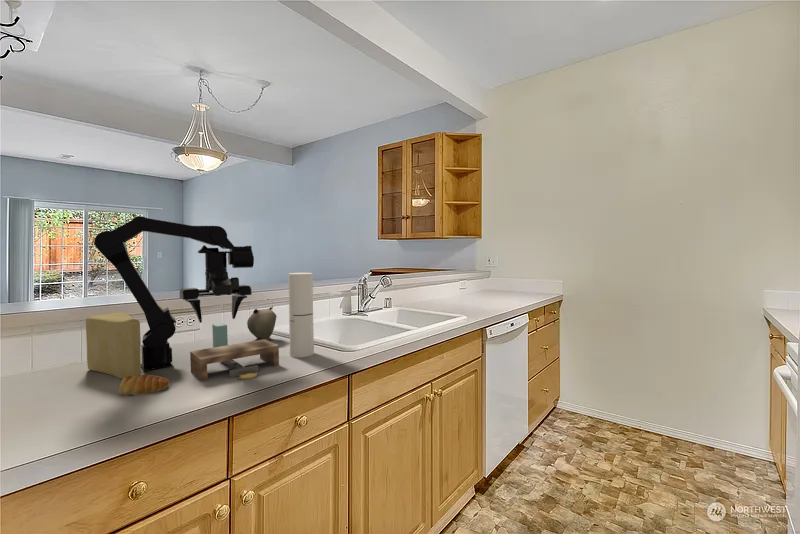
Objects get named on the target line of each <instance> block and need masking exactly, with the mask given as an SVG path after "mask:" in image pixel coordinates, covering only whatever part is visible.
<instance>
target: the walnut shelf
mask: <svg viewBox="0 0 800 534" xmlns="http://www.w3.org/2000/svg"><path fill="white" fill-rule="evenodd" d="M279 349H280V345H278V344H277V343H274V342H271V341H270V340H269V341H267V340H265V339H264V340H258V341H253V340H252V341H251V340H250V341H247V342H240V343H234V344H228V345H226V346H220V347H214V348H213V347H210V348H203V349H197V350H196V349H195V350H190V351H189V354H190V356H189V357H190V358H189V359H190V360H189V361H190V373H191V374H192V375H194V377H195V378H197V380H198V381H200V382H205V381H208V365H209V364H216V363H221V362H222V361H227V360H232V359H233V360H236V359H241V358H248V357H253V356H259V359H260V360H262V361H263V362H266V363H268V364H269V365H271V366H273V367H277V366H280V353H279V352H280V350H279ZM222 363H223V362H222Z"/></svg>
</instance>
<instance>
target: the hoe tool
mask: <svg viewBox="0 0 800 534" xmlns="http://www.w3.org/2000/svg"><path fill="white" fill-rule="evenodd" d="M211 326H212V327H211V329H212V348H214V347H220V346H226V345H229V344H228V324H225V323H224V322H220V323H213V324H212V325H211ZM222 363H223V364H225V365H227V366H228V367H229V368H231V369H229V371H228V373H229V376H228V377H229V378H233V377H234V378H235V377H238V374H239V373H240V372H243V371H248V370H254V371H257V373H258V372H259V365H258V364H255V365H249V366H244V365H242V364H241V363H239V362H237V361H236V360H235V359H232V360H227V361H222Z"/></svg>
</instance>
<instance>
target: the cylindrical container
mask: <svg viewBox="0 0 800 534" xmlns="http://www.w3.org/2000/svg"><path fill="white" fill-rule="evenodd" d="M313 275H314V274H313V272H289V273H288V314H289V315H288V316H289V317H288V318H289V319H288V320H289V321H288V324H289V328H288V329H289V330H288V331H289V356H290V357H292V358H308V357H310V356H313V355H314V353H315V348H314V347H315V344H314V343H315V341H314V334H315V333H314V283H313V280H314V279H313V278H314V277H313Z"/></svg>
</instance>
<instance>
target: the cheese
mask: <svg viewBox="0 0 800 534" xmlns="http://www.w3.org/2000/svg"><path fill="white" fill-rule="evenodd" d="M85 336H86V337H85V338H86V363H87V365H86V366H87V369H88V370H89V371H93V372H98V373H102V374H107V375H111V376H114V377H116V378H119V379H121V380H123V378H124V377H125V376H136V375H142V369H141V368H142V367H141V364H142V362H141V352H142V351H141V345H142V344H141V343H142V341H141V322H140V320H138V319H135V318H133V317H132V316H131V315H129V314H128V313H127V312H116V313H106V314H98V315H91V316H88V317H87V318H85Z"/></svg>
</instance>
